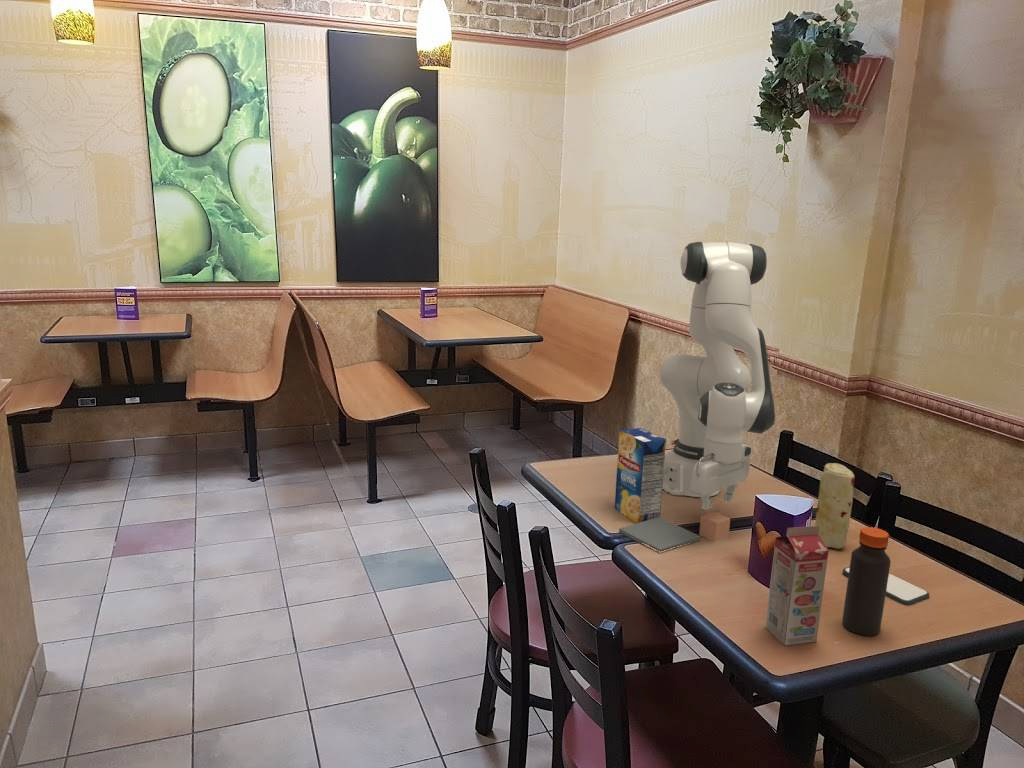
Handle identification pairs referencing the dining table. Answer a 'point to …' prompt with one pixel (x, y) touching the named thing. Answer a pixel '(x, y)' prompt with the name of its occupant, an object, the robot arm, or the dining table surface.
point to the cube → (714, 526)
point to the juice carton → (797, 585)
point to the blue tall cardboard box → (639, 474)
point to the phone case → (900, 590)
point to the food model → (835, 504)
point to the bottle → (867, 583)
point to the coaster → (659, 534)
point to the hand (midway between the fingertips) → (717, 504)
